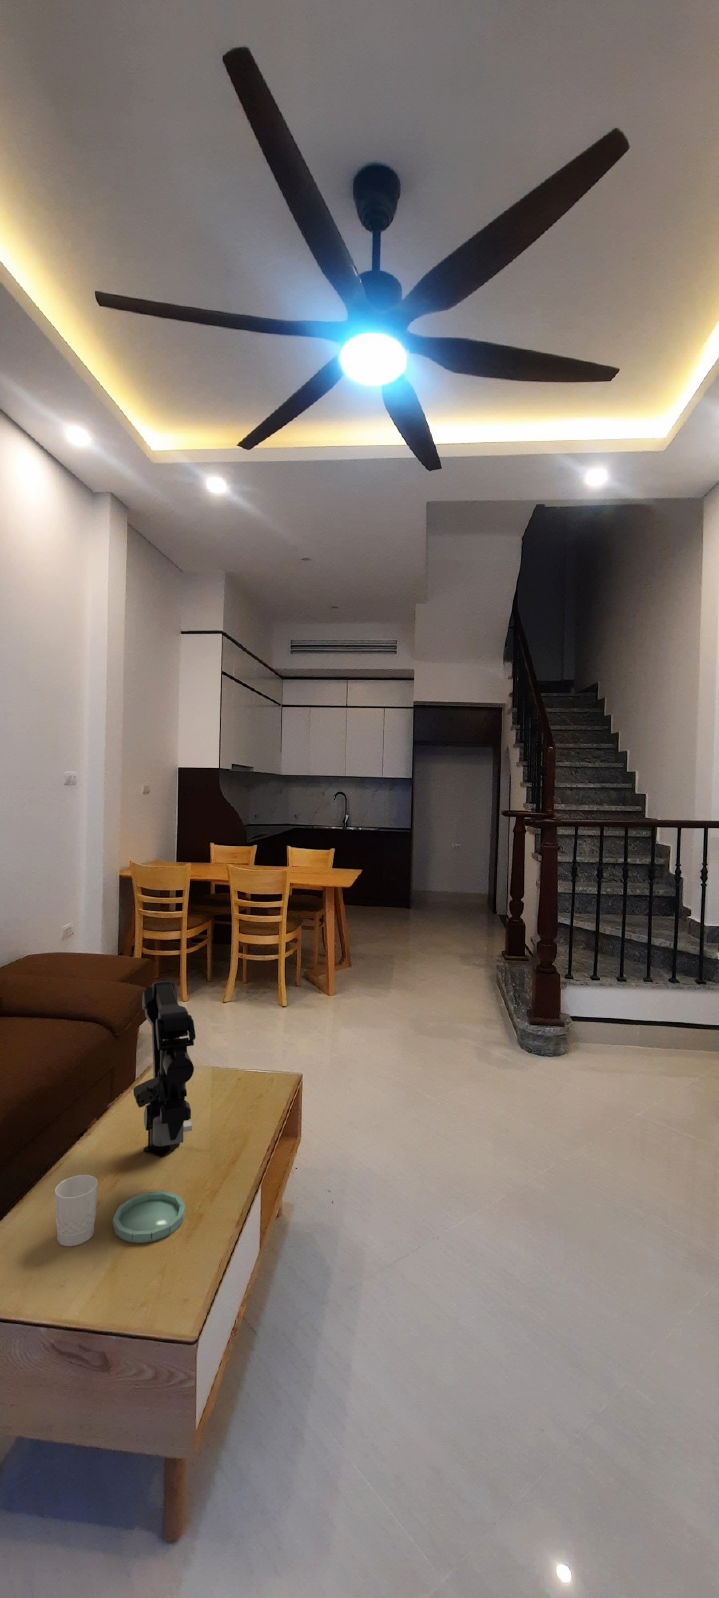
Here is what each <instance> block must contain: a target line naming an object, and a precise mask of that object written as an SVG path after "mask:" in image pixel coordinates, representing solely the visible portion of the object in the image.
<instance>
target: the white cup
mask: <svg viewBox="0 0 719 1598" xmlns="http://www.w3.org/2000/svg"><path fill="white" fill-rule="evenodd" d="M98 1183H99V1182H98V1179H97V1178H96V1177H95V1176H92V1175H89V1174H79V1175H74V1176H71V1177H68V1178H65V1179H63V1180H62V1181H61V1182H59V1184H57V1185H56V1187H55V1189H54V1199H55V1200H54V1201H55V1202H54V1203H55V1222H56V1234H57V1235H56V1236H57V1242H58V1244H60V1245H61V1246H63V1247H76V1246H80V1245H83V1244H85V1242H87V1241H88V1240H90V1239H91V1238H92V1237H93V1235H94V1232H95V1231H94V1230H95V1221H96V1213H97V1203H98V1202H97V1201H98Z"/></svg>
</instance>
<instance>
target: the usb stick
mask: <svg viewBox="0 0 719 1598" xmlns="http://www.w3.org/2000/svg"><path fill="white" fill-rule="evenodd" d="M187 1132H193V1124H192V1121H191V1120H186V1121H184V1122H183V1125H182V1127H181V1129H180V1131H179V1133H178V1135H177V1138H176V1140H172V1141H171V1140H170V1134H169V1129H168V1124H163V1123H161V1117H160V1116H158V1117H156V1118H154V1119H153V1144H154V1145H155V1146H165V1145H171V1144H177V1143H180V1144H182V1143H184V1133H187Z"/></svg>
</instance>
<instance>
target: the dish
mask: <svg viewBox="0 0 719 1598" xmlns="http://www.w3.org/2000/svg"><path fill="white" fill-rule="evenodd" d="M185 1213H186V1203H185V1202H184V1201H183V1199H182V1198H181V1196H180V1195H179V1194H175V1193H172V1192H169V1191H164V1190H163V1191H148V1192H144V1193H141V1194H139V1195H136V1196H132V1197H131V1198H128V1199H127V1200H125V1202H124V1203H122V1204H121V1205H119V1206H118V1207H117V1209H116V1211H115V1213H114V1215H113V1218H112V1227H113V1231H114V1233H115V1235H116V1237H118V1238H119V1240H120V1239H121V1240H122V1241H124V1242H126V1243H131V1244H148V1243H152V1242H153V1243H154V1242H156V1241H159V1240H162V1239H164V1238H167V1237H168V1236H170V1235H171V1234H173V1233H174V1232H175V1231H177V1229H179V1228H180V1227H181V1226H182V1224H183V1222H184V1220H185Z"/></svg>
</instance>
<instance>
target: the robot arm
mask: <svg viewBox="0 0 719 1598" xmlns="http://www.w3.org/2000/svg"><path fill="white" fill-rule="evenodd" d="M178 1000H179V999H178V991H177V986H175V985H174V981H171V980H161V981H155V982H153V983H152V985H151V986H149V987H148V988H146V989H145V990H143V993H142V999H141V1006H142V1010H144V1016H145V1018H146V1020H147V1021H148V1022H149V1024H150V1025H151V1040H152V1042H151V1043H152V1046H151V1047H152V1071H153V1078H150V1079H148V1080H146V1081H144V1082H142V1083H140V1084H138V1085H136V1086H134V1087H133V1097H134V1098H135V1104H137V1107H138V1108H144V1107H145V1108H144V1111H143V1124H144V1128H145V1132H147V1131H148V1132H147V1145H146V1146H145V1147H143V1152H146V1153H149V1154H152V1155H156V1156H158V1157H165V1156H166V1155H168V1154H169V1153H170V1152H172V1151H174V1150H175V1149H176V1148H177V1147H179V1146H180V1145H181V1143H177V1144H171V1145H165V1146H155V1145H154V1144H153V1119H154V1118H156V1117H158V1116H160V1117H161V1123H163V1124H168V1129H169V1134H170V1140H171V1141H172V1140H176V1138H177V1135H178V1133H179V1131H180V1129H181V1127H182V1125H183V1122H186V1121H190V1120H191V1119H192V1109H191V1105H190V1103H189V1102H188V1101H187V1100H186V1098H185V1097H187V1095H188V1092H187V1088H186V1087H187V1085H186V1084H187V1083H188V1081H190V1080H191V1078H192V1077H193V1075H194V1070H195V1066H194V1064H193V1061H192V1059H191V1058H190V1057H191V1056H190V1055H189V1053H188V1047H191V1046H192V1047H193V1046H194V1045H195V1041H194V1040H196V1038H197V1037H196V1030H195V1022H194V1019H193V1018H192V1015H191V1014H189V1012H188V1010H187V1008H186V1007H185V1006H182V1005H179V1001H178Z"/></svg>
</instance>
